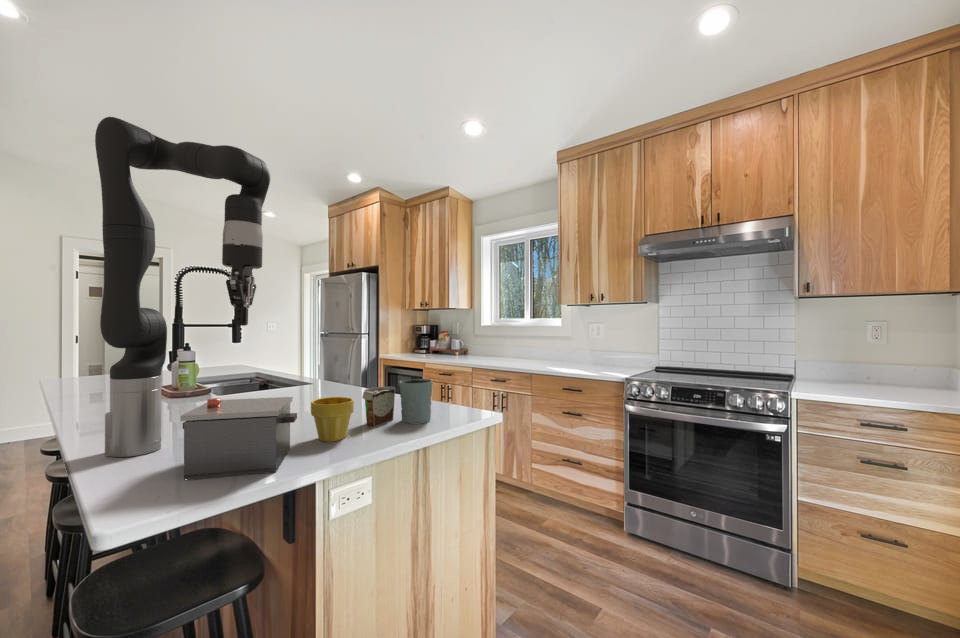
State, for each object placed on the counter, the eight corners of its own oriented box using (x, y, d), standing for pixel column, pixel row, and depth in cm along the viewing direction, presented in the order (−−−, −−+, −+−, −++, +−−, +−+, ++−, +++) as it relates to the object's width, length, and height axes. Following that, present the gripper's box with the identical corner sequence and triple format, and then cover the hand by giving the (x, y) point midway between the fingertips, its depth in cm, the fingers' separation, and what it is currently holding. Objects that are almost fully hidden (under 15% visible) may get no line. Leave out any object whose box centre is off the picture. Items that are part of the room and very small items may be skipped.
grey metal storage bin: (169, 481, 79) (169, 422, 79) (201, 455, 95) (201, 406, 95) (289, 471, 85) (289, 416, 85) (300, 447, 100) (301, 401, 100)
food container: (379, 417, 132) (379, 385, 132) (396, 419, 129) (396, 386, 129) (353, 426, 120) (353, 391, 120) (371, 428, 118) (371, 393, 118)
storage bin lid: (180, 421, 79) (180, 407, 79) (211, 404, 95) (211, 393, 95) (278, 415, 84) (278, 403, 84) (292, 401, 100) (292, 390, 100)
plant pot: (345, 444, 103) (345, 404, 103) (303, 443, 103) (303, 404, 103) (358, 432, 114) (358, 396, 114) (320, 432, 114) (320, 396, 114)
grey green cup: (405, 425, 121) (405, 384, 121) (394, 418, 130) (394, 379, 130) (438, 421, 126) (438, 381, 126) (425, 415, 135) (425, 377, 135)
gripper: (233, 249, 96) (231, 324, 96) (211, 238, 83) (209, 325, 83) (269, 251, 98) (267, 325, 98) (253, 240, 85) (251, 326, 85)
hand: (241, 325), depth 91 cm, fingers closed
